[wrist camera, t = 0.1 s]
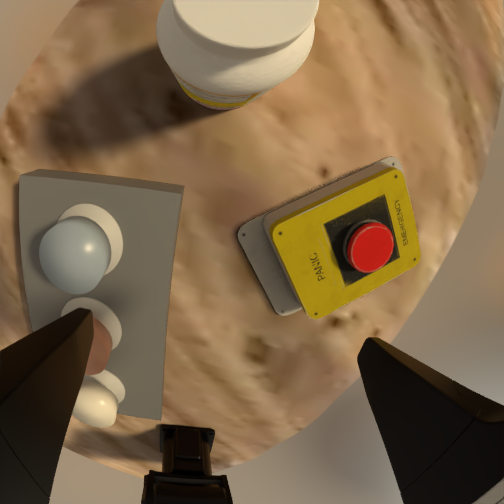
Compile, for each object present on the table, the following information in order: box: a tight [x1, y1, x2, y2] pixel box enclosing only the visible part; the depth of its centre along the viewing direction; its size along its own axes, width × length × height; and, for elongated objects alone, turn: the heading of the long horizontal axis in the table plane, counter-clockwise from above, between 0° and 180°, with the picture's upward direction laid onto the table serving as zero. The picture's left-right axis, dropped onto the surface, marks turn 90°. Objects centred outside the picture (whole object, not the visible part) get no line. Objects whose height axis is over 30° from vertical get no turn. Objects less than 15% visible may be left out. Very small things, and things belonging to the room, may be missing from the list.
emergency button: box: [238, 156, 421, 319], centre depth 23 cm, size 9×4×15 cm
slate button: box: [39, 216, 111, 294], centre depth 16 cm, size 4×4×2 cm
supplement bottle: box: [156, 0, 319, 110], centre depth 12 cm, size 7×7×13 cm
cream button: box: [72, 381, 118, 428], centre depth 21 cm, size 4×4×2 cm
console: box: [19, 169, 184, 420], centre depth 22 cm, size 22×12×3 cm, turn 168°
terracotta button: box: [85, 317, 113, 375], centre depth 18 cm, size 4×4×2 cm
